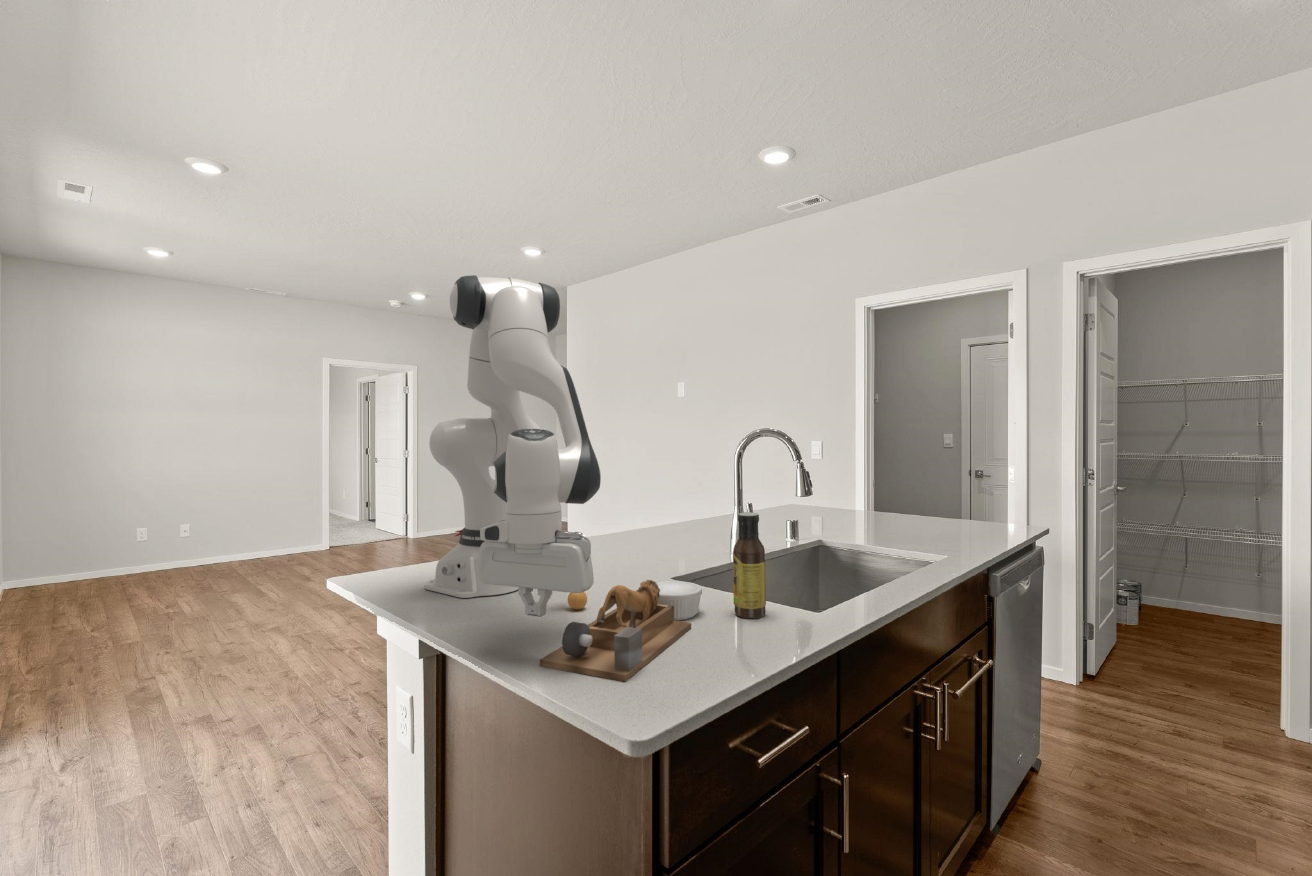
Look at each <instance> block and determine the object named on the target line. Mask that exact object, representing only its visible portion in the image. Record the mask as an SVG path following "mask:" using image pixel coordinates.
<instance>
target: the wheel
mask: <svg viewBox="0 0 1312 876" xmlns="http://www.w3.org/2000/svg"><path fill="white" fill-rule="evenodd" d="M561 644H562V645H561V647H562V648H563V651H564V653H565V654H567V655H572V656H578V657H580V656H582V655H584V653H585V652H586V650H587V648H588V647H590V646H591V644H592V636H591V635H590V630H589V627H588V624H587V623H584V622H583V623H582V622H576V621H571V622H570V623H568V624H567V625H566V627H565V628H564V632H563V634H562V640H561Z"/></svg>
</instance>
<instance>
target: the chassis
mask: <svg viewBox="0 0 1312 876" xmlns="http://www.w3.org/2000/svg"><path fill="white" fill-rule="evenodd" d="M616 614H617V607H616V608H615V609H613V610H611V611H609V612H608V613H605V617H604V623H598V622H597V619H596V620H593V621H592V622H590V623H588V624H587V625H588V627H589V630H590V635H591V636H592V644H591V646H590V647H588V648H587V650H586V652H585V653H584V655H582V656H580V657H578V656H572V655H567V654H565V653H564V651H563V648H562V646H560V647H559V648H557V649H555V650H553V651H552V652H550V653H548V654H547V655H545V656H543V657H541V658H539V667H544V668H548V669H553V670H559V671H565V672H571V673H575V674H576V673H577V674H580V675H581V674H582V675H587V676H592V677H598V678H603V679H608V680H613V681H614V680H615V681H619V682H624V683H626V682H627V681H629V680H630V679H632V678H633V676H635V675H636V674H637V673H638V672H640V671H641V670H642V669H643V668H645V667H646V666H647V665H648V664H649V663H651V662H652V661H653V660H654V659H656V658H657V657H658V656H659V655H660V654H662V653H663V652H665V650H667V649H668V648H669V647H670V646H672V645H673V644H674V643H675V642H676V641H678V640H679V639H680V638H682V636H683V635H685V634H686V633H687V632H689V631H690V630H691V629H692V622H688V621H683V620H674V606H670V605H662V604H657V607H656V609H655V610H654V611H653V612H652V613H651V614H650V617H649V619H648V620H646V621H645V622H643V615H642V614H640V613H638V614H637V616H636V622H635V627H636V628H632V627H629V624H630V620H631V612H629V611H627V610H626V609H625V610H624V612H623V614H622V622H623V623H625V624H626V627H620V626H619V624H618V621H617V619H616ZM642 622H643V623H642Z"/></svg>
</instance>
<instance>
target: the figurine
mask: <svg viewBox="0 0 1312 876" xmlns="http://www.w3.org/2000/svg"><path fill="white" fill-rule="evenodd" d="M587 602H588V596H587V594H586V591H585V592H582V593H571V592H569V594H568V596H567V604H568V606H569V607H570V609H573V610H577V611H578V610H582V609H583V608H584V607H586V605H587V604H588V603H587Z"/></svg>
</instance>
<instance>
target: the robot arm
mask: <svg viewBox="0 0 1312 876" xmlns="http://www.w3.org/2000/svg"><path fill="white" fill-rule="evenodd" d="M449 307H450V310H451V311H450V312H451V314H452V317H453V320H454V321H455V322H456V323H457V324H458V325H459V326H461V327H464V328H467V329H470V330H472V333H471V338H470V339H471V340H470V345H469V353H468V355H469V356H468V369H467V370H468V371H467V386H466V387H467V390H468V393H469V394H470V396H471V397H472V398H473V399H474V400H476V401H478V402H479V403H481V404H484V405H485V406H487V407H489V408H490V412H491V414H490V417H489V418H477V417H476V418H457V419H456V418H455V419H449V420H445V421H440V422H438V423H437V424H436V425H435V427H434V428H433V430H432V431H431V433H430V437H429V450H430V453H431V455H432V457H433V459H434V460H435V461H436V462H437V463H438V464H439V465H440V466H442V467H443V468H445V469H446V470H447V471H449V473H451V475H452V477H454V480H455V481H456V482H457V484H458V486H459V487H460V491H461V494H462V501H463V512H464V527H463V528H462V529H460V530H456V531H455V533H457V534H455V537H459V536H460V537H459V540H458V544H456V546H454V547H453V548H452V549H451V550H449V551H448V552H447V553H446V554H445V555H444V556H442V557H441V558H440V559H439V560H438V562H437V564H436V569H435V577H434V579H432V580H429V581H427V582H426V583H425V584H424V589H425V590H428V591H433V592H436V593H441V594H445V595H449V596H451V597H452V596H453V597H457V598H460V599H468V598H475V597H485V596H497V595H503V594H508V593H513V592H515V591H517V590H518V595H519V598H520V599H521V601H522V602H523V604H524V613H525V616H532V617H540V618H542V617H543V616H545V615H546V614H547V604H548V602H549V600H550V598H551V596H552V595H553V592H563V593H570V592H571V593H582V592H585V593H586V591H589V590H590V589H591V588H592V586H593V585H594V582H595V581H594V569H593V561H592V556H591V555H592V544H591V541H590V539H589V538H588V537H587V536H586V535H584V534H583V532H579V531H574V532H573V531H571V532H570V531H566V530H562V529H563V527H562V526H563V525H562V523H563V521H562V518H563V516H562V506H561V504H562V503H564V504H572V505H573V504H575V505H576V504H577V505H584V504H586V503H587V502H588V501H590V500H591V499H592V498H593V497H594V496H595V495H596V494H597V493H598V491H599V490H600V488H601V481H602V480H601V477H602V476H601V475H602V474H601V468H600V465H599V462H598V458H597V456H596V453H595V449H593V448H594V447H593V446H592V443H591V439H590V437H589V432H588V429H587V426H586V422H585V419H584V414H583V411H582V408H581V403H580V400H579V396H578V393H577V389H576V387H575V384H574V381H573V378H572V376H571V374H570V371H569V370H568V368H567V367H565V366H563V365H562V364H560V362H558V360H557V359H556V358H555V356H554V355H553V352H552V351H551V350H552V349H550V343H549V334H548V333H550V332H552V331H553V330H554V329H556V327H557V326H558V322H559V319H560V316H561V312H562V311H561V307H562V306H561V302H560V295H559V293H558V291H557V290H556V288H554V287H553V286H550V285H548V284H546V283H542V282H538V283H536V282H532V281H528V280H525V279H520V278H519V279H518V278H514V277H507V278H505V277H497V276H496V277H494V276H493V277H492V276H478V275H464V276H460V277H459V278H458V279H457V280H455V282H454V286H453V287H452V289H451V292H450V295H449ZM520 392H522V393H525V394H528V395H530V396H534V397H535V398H539V399H540V400H543V401H545V402H546V403H547V404H549V405H550V406H551V407H552V408H553V409H554V410H555V412H556V415H557V418H558V421H559V425H560V429H561V433H562V436H563V440H564V444H565V447H563V448H559V445H558V441H557V437H556V436H557V435H556V434H555V433H554V432H552V431H550V430H547V429H541V427H540V426H539V424H537V422H535V421H534V420H533V419H532V418H531V417H530V416H529V415H528V414H527V412H526V410H525V408H524V406H523V404H522V399H521V396H520V395H521V394H520ZM490 467H494V479H493V478H492V476H491V473H490V470H489V468H490ZM534 590H536V591H537V596H538V597H539V599H538V601H537V602H536V601H535V599H534V597H533V595H532V592H533V591H534Z"/></svg>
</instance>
